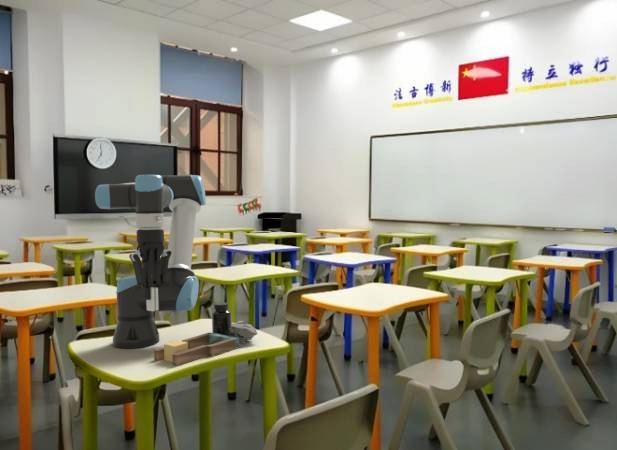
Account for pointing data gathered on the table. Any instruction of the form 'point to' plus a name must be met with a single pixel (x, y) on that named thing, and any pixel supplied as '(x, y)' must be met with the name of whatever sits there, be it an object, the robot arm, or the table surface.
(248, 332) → the mineral specimen
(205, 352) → the chute
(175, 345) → the block
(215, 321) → the supplement bottle
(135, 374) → the table surface
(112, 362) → the table surface
